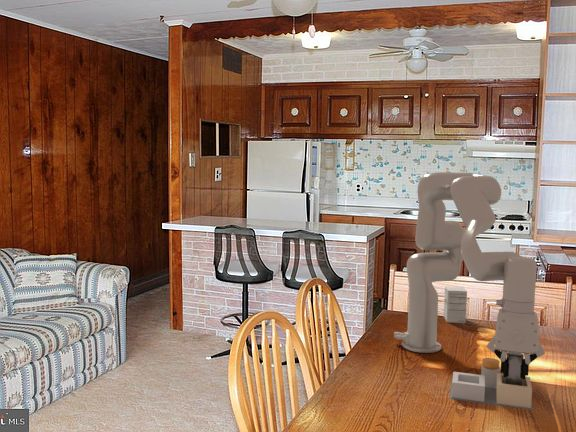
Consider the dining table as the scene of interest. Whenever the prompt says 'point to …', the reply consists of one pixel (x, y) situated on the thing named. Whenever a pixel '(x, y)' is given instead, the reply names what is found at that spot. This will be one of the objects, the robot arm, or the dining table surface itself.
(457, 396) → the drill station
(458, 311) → the supplement box
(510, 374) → the grey rounded cylinder
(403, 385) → the dining table surface
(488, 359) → the button
